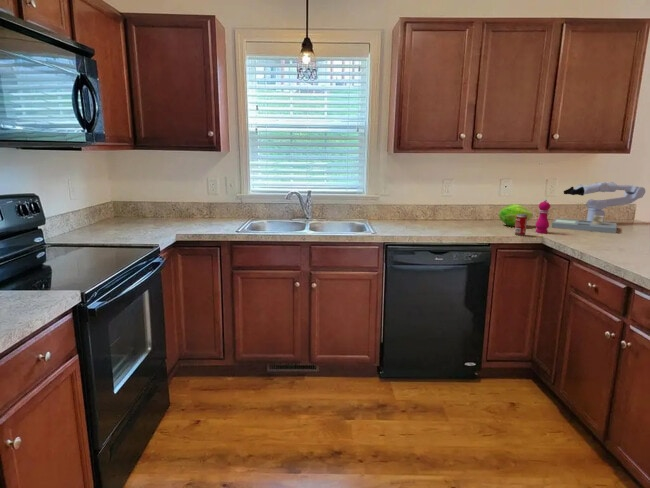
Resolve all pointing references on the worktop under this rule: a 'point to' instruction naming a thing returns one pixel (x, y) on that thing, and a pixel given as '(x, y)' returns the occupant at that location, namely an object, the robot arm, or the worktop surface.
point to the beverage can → (520, 224)
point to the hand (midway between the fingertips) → (567, 192)
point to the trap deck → (584, 225)
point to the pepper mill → (543, 217)
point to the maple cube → (597, 220)
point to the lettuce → (513, 214)
